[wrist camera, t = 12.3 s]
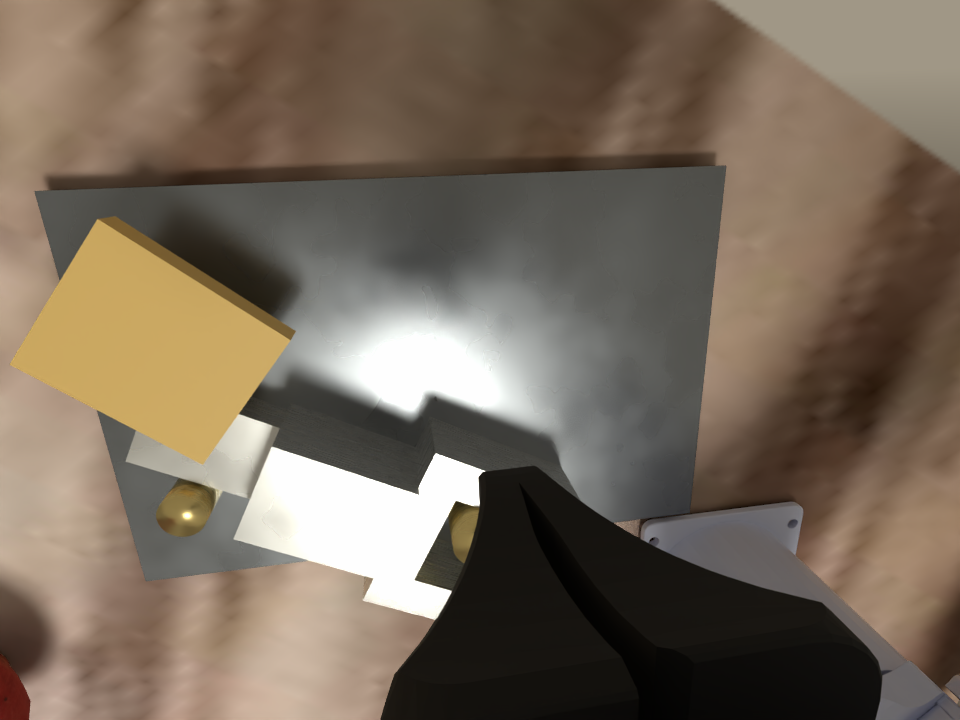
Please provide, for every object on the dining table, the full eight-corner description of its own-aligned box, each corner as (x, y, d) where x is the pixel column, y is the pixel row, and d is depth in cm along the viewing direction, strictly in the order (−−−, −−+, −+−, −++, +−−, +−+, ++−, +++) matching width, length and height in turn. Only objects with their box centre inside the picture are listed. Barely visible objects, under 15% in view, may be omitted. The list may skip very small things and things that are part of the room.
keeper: (306, 314, 19) (290, 340, 16) (230, 421, 20) (202, 464, 17) (144, 209, 18) (93, 216, 15) (68, 331, 18) (6, 362, 15)
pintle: (492, 507, 23) (509, 562, 20) (445, 513, 23) (454, 569, 20) (491, 465, 22) (508, 515, 19) (442, 471, 22) (451, 522, 19)
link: (560, 466, 23) (588, 514, 20) (493, 585, 24) (509, 649, 21) (185, 325, 19) (142, 356, 16) (131, 478, 20) (81, 537, 17)
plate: (680, 502, 26) (689, 512, 25) (153, 567, 22) (145, 581, 22) (714, 165, 21) (726, 165, 20) (49, 190, 18) (34, 191, 17)
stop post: (228, 498, 21) (210, 533, 19) (184, 503, 21) (161, 539, 19) (220, 462, 21) (201, 493, 19) (175, 466, 20) (151, 499, 18)
